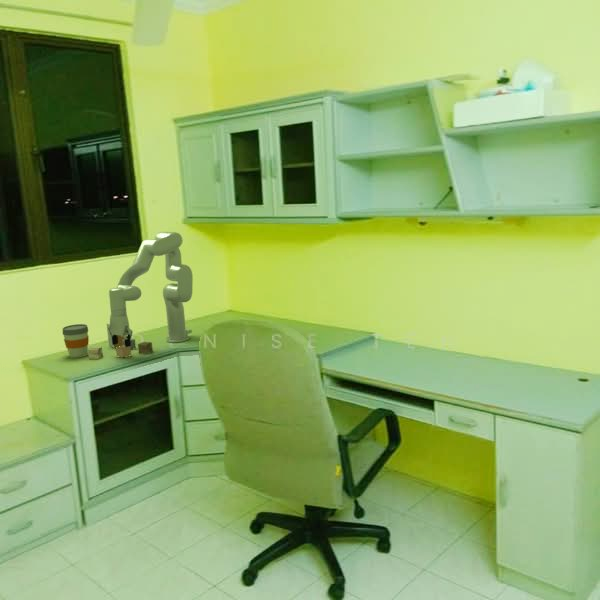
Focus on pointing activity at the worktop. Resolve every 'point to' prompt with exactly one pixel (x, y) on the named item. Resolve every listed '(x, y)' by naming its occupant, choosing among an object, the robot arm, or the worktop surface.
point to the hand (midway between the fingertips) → (121, 345)
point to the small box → (111, 338)
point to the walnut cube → (145, 347)
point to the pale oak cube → (95, 352)
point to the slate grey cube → (131, 343)
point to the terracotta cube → (123, 351)
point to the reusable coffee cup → (76, 339)
